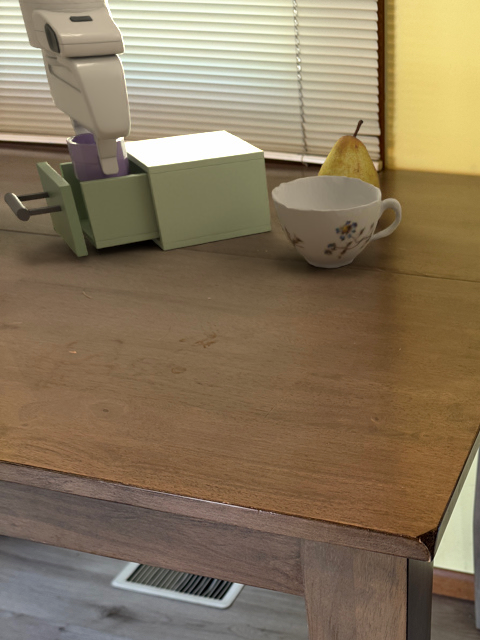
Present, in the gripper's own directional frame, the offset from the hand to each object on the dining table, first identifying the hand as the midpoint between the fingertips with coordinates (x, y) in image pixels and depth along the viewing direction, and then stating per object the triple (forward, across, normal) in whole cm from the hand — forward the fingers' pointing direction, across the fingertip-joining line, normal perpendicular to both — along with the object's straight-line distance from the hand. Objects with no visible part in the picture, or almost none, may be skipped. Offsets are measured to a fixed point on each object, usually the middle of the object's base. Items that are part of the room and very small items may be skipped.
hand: (100, 165), depth 90 cm
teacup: (+9, +20, +21) cm, 30 cm away
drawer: (+8, 0, -2) cm, 8 cm away
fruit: (+9, +8, +29) cm, 32 cm away
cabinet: (+9, 0, +11) cm, 14 cm away
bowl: (+2, 0, 0) cm, 2 cm away
